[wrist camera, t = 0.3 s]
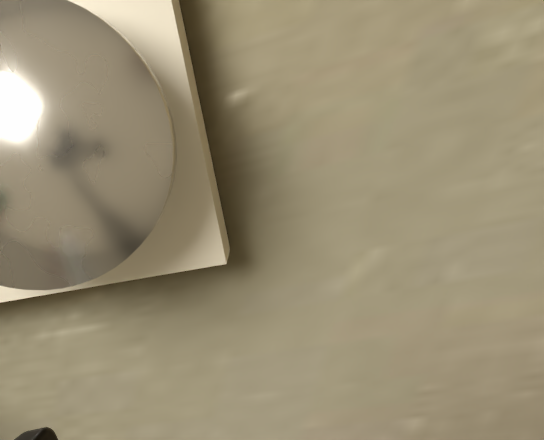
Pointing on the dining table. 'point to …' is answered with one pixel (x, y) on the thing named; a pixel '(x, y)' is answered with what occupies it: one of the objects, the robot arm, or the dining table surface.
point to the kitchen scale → (190, 153)
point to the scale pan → (76, 146)
